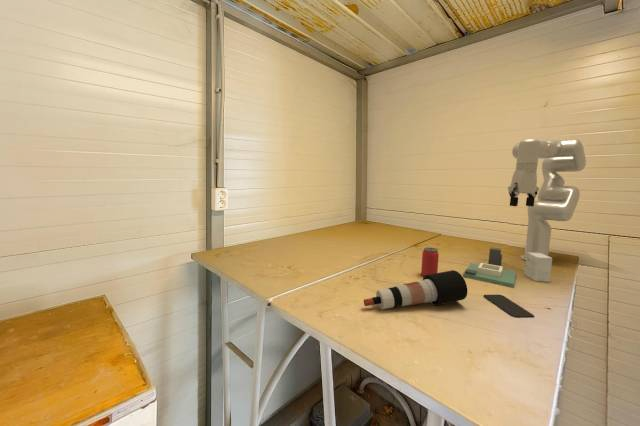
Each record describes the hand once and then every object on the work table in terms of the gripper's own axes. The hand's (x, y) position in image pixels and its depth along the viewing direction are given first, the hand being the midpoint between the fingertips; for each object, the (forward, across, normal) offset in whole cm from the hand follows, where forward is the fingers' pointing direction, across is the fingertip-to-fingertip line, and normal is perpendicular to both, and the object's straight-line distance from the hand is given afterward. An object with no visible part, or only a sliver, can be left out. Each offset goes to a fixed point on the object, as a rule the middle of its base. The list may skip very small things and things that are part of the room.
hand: (521, 206), depth 120 cm
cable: (+33, +67, +17) cm, 76 cm away
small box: (+31, 0, +10) cm, 32 cm away
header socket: (+29, +17, +3) cm, 34 cm away
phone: (+32, +36, +26) cm, 55 cm away
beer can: (+32, +43, -4) cm, 54 cm away
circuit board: (+31, +17, +3) cm, 35 cm away
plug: (+31, +4, -7) cm, 32 cm away
